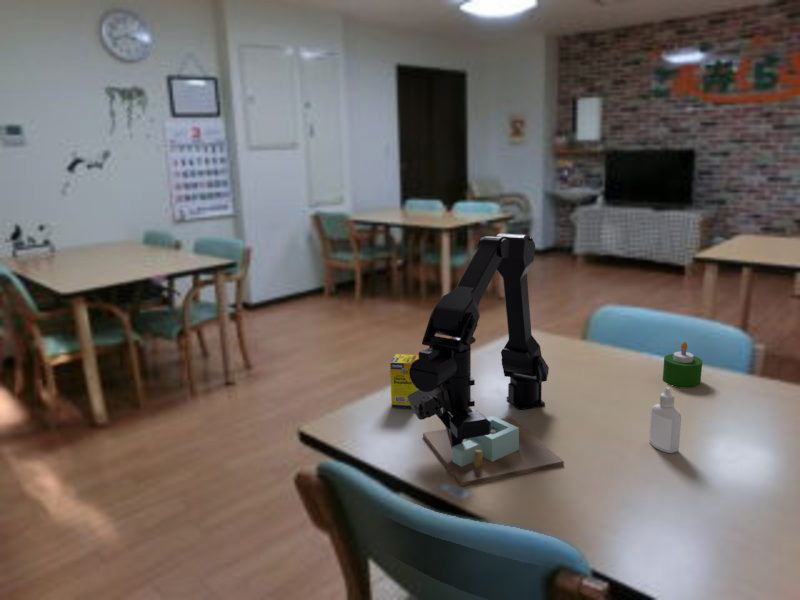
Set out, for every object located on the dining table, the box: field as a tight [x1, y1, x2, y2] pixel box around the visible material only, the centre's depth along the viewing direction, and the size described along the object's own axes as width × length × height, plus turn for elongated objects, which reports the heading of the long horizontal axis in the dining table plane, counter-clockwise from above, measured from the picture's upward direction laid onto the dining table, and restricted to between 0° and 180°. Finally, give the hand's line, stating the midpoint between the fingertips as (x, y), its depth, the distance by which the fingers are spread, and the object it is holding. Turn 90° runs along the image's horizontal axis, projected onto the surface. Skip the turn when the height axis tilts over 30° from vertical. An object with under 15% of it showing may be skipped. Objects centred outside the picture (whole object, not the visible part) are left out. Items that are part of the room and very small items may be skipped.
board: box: [422, 416, 565, 487], centre depth 118 cm, size 20×20×4 cm
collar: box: [452, 415, 519, 467], centre depth 115 cm, size 12×7×4 cm, turn 127°
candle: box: [662, 341, 703, 389], centre depth 146 cm, size 8×8×10 cm
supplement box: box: [389, 353, 419, 410], centre depth 140 cm, size 6×6×11 cm
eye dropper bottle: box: [648, 387, 682, 454], centre depth 115 cm, size 4×6×12 cm
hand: (455, 449), depth 115 cm, fingers closed
